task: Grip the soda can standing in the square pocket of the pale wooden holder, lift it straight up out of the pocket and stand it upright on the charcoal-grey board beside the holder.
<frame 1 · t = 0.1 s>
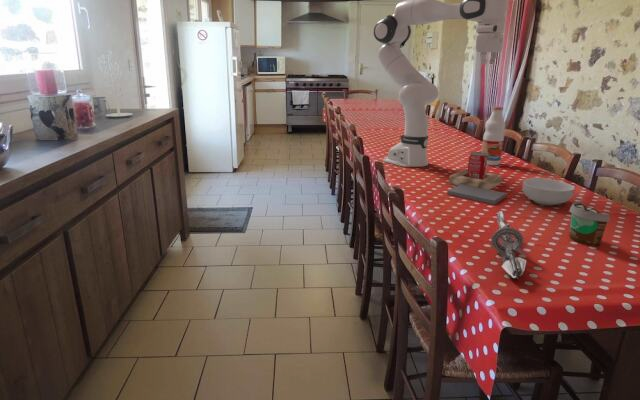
hand: (487, 64, 179), 48 cm above the table, fingers open, 8 cm apart
charcoal board: (476, 195, 165), on the table
cereal bowl: (545, 202, 158), on the table
spaceship: (504, 254, 116), on the table
fruit juice: (489, 163, 216), on the table
wooden holder: (474, 183, 181), on the table
food container: (578, 240, 126), on the table
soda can: (474, 184, 181), resting in wooden holder
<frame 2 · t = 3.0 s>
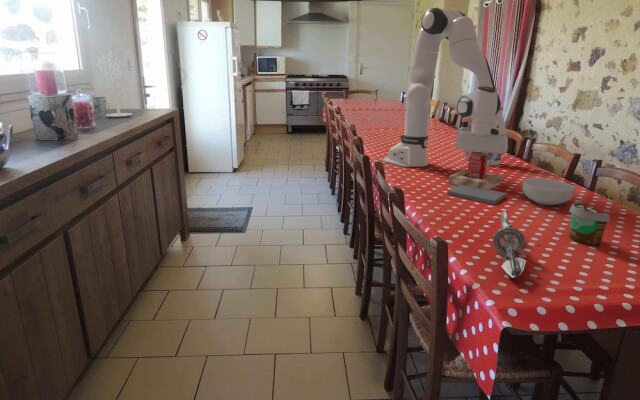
hand: (479, 161, 178), 9 cm above the table, fingers open, 8 cm apart
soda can: (474, 184, 181), resting in wooden holder, touching gripper
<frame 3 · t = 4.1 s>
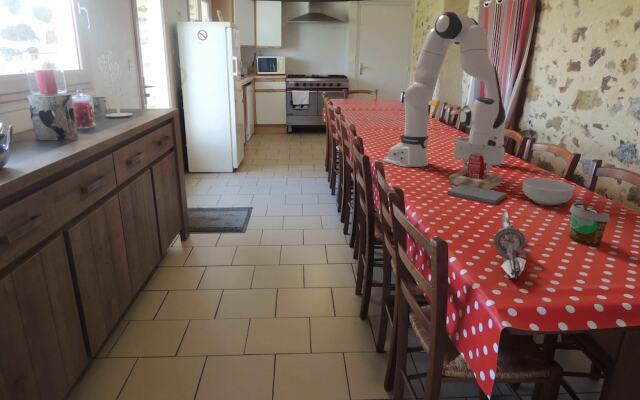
hand: (476, 171, 179), 5 cm above the table, fingers open, 7 cm apart
nothing on the table moved.
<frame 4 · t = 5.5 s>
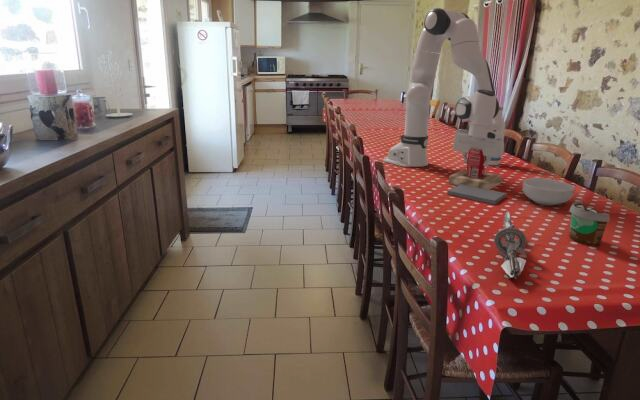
hand: (475, 164, 178), 8 cm above the table, fingers closed on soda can, 6 cm apart
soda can: (474, 178, 180), point 2 cm above the table, touching gripper
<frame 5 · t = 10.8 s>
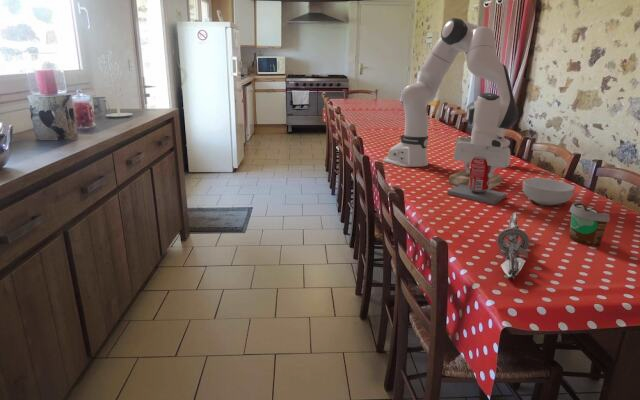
hand: (478, 175, 162), 8 cm above the table, fingers closed on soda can, 6 cm apart
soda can: (477, 190, 164), point 2 cm above the table, touching gripper
when the fingers open (8 cm above the table, at t = 11.5 s): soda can stays where it is, point 2 cm above the table.
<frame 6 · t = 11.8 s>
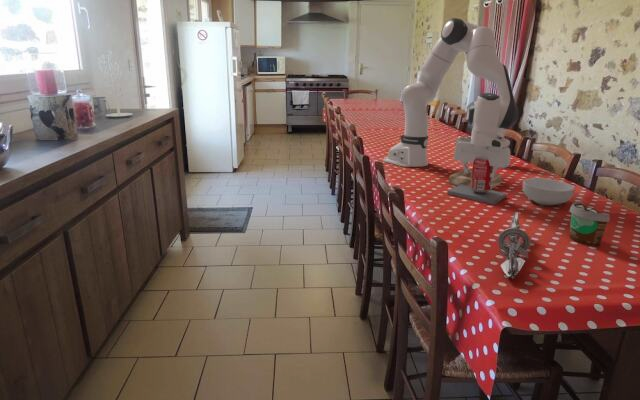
hand: (478, 175, 162), 8 cm above the table, fingers open, 8 cm apart
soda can: (479, 190, 164), point 2 cm above the table, touching gripper
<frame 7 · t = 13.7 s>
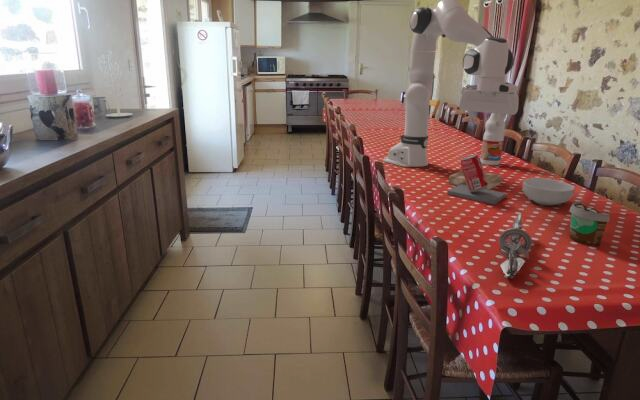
hand: (485, 125, 156), 27 cm above the table, fingers open, 8 cm apart
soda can: (478, 189, 163), point 3 cm above the table, touching charcoal board
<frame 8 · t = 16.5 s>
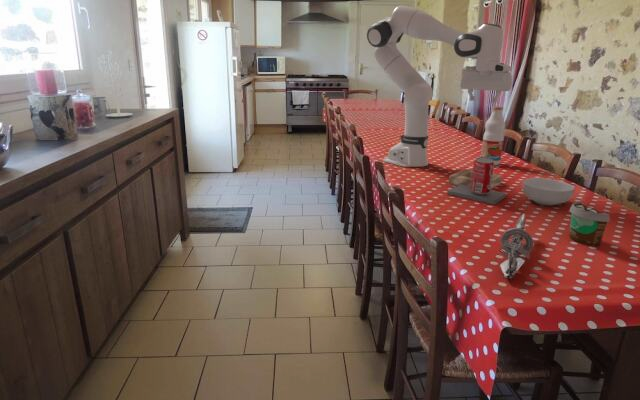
hand: (483, 101, 178), 33 cm above the table, fingers open, 8 cm apart
at the end: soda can inside the target area on the charcoal board (1.5 cm from its centre), point 1.7 cm above the charcoal board's base; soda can tilted 7°; the gripper is holding nothing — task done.
